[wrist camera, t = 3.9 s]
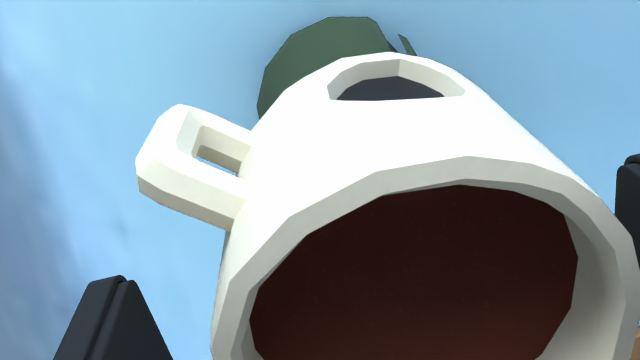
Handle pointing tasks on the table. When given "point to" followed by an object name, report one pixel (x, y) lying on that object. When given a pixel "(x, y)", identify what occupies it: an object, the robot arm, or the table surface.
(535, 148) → the character mug
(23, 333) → the table surface
